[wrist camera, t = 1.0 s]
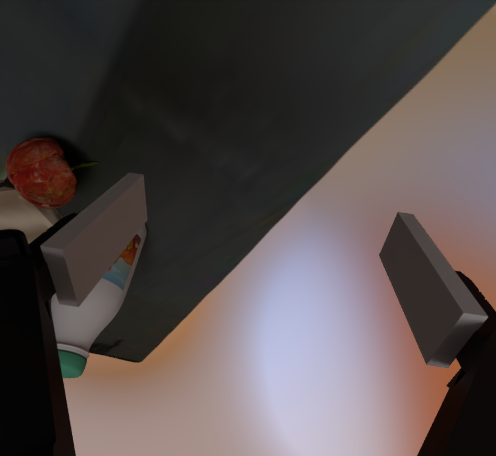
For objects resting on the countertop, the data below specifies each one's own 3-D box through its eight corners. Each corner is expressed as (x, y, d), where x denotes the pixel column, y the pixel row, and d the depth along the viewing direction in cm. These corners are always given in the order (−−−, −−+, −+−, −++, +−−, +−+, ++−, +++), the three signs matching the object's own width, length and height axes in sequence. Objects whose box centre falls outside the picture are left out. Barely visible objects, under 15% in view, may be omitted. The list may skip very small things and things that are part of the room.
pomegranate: (87, 117, 33) (-30, 125, 27) (111, 167, 31) (-11, 187, 25) (89, 163, 39) (-7, 177, 33) (110, 208, 37) (10, 231, 31)
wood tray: (-86, 190, 39) (-100, 201, 38) (28, 177, 37) (18, 189, 36) (9, 263, 52) (2, 274, 50) (99, 257, 50) (94, 268, 48)
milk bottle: (157, 236, 45) (113, 382, 32) (114, 244, 47) (55, 384, 33) (128, 199, 39) (58, 358, 26) (79, 210, 41) (-8, 363, 28)
